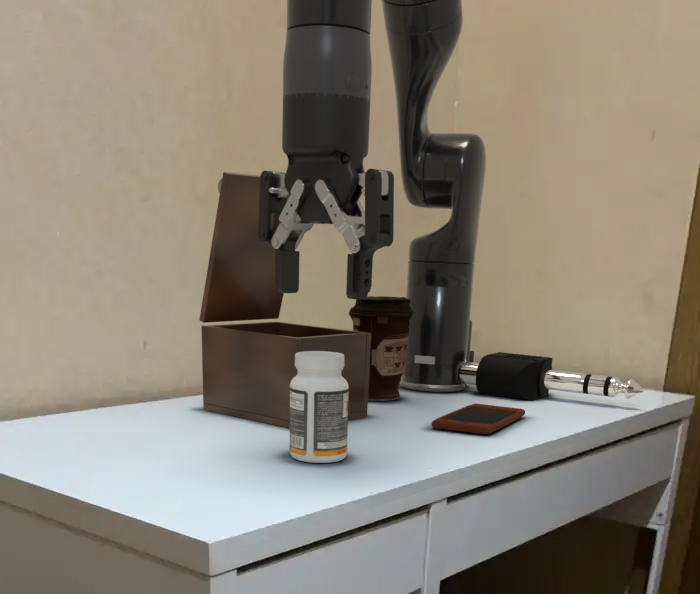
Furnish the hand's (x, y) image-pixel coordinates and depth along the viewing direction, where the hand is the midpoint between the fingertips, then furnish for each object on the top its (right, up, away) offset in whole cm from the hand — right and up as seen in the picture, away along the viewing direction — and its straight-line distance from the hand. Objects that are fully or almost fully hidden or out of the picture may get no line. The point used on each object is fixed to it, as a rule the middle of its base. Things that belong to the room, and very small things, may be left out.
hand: (321, 295), depth 86 cm
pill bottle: (-1, -14, +6) cm, 15 cm away
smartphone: (+18, -6, +26) cm, 33 cm away
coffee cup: (+6, 0, +41) cm, 41 cm away
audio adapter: (+31, +1, +46) cm, 55 cm away
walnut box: (-5, -5, +28) cm, 29 cm away
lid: (-9, +13, +24) cm, 29 cm away
